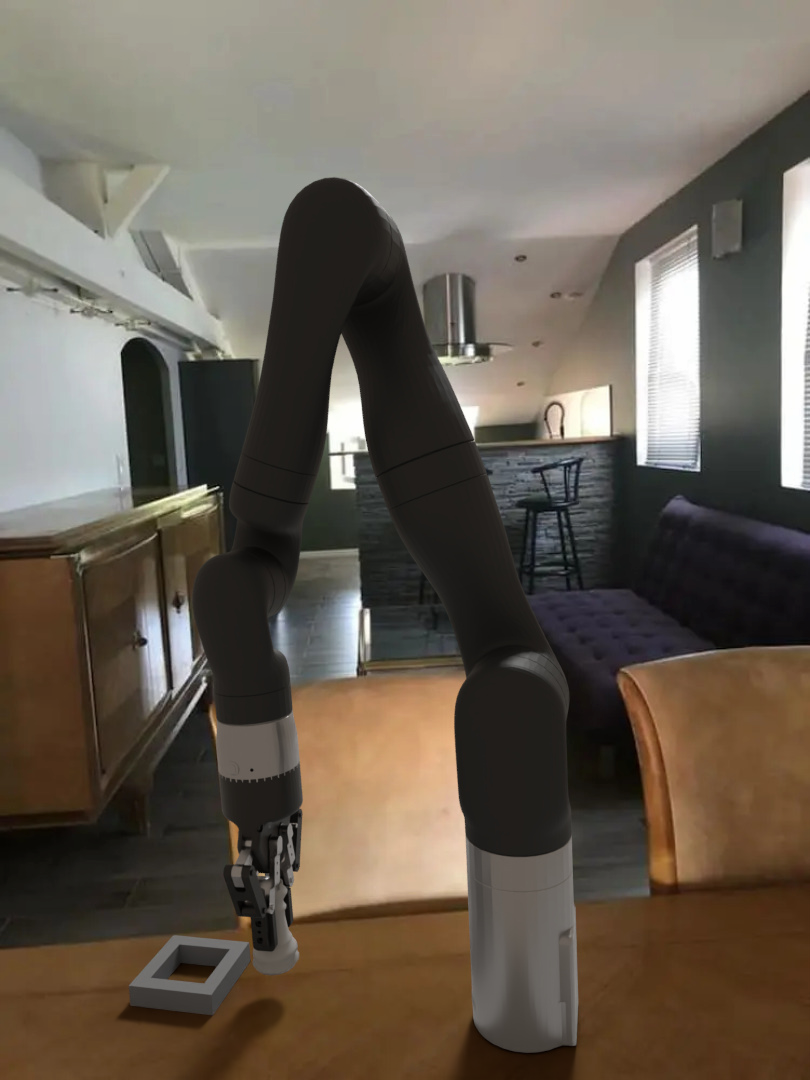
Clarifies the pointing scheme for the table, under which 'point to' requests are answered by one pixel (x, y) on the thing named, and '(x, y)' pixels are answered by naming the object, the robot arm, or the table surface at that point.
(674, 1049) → the table surface
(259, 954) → the rook chess piece
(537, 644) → the robot arm
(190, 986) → the socket plinth
